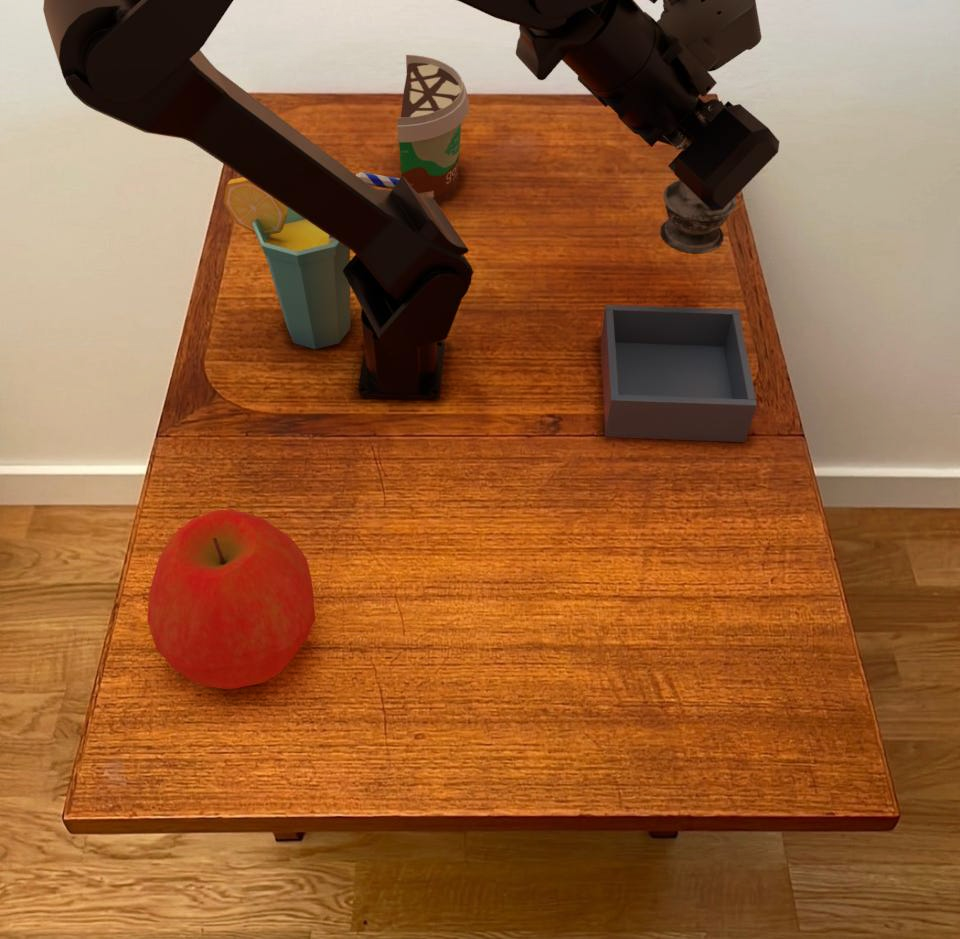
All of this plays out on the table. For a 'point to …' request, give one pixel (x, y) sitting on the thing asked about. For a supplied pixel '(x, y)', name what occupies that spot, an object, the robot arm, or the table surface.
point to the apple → (230, 600)
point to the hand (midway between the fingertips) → (721, 161)
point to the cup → (300, 261)
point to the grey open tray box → (676, 374)
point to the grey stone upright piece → (692, 221)
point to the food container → (431, 126)
